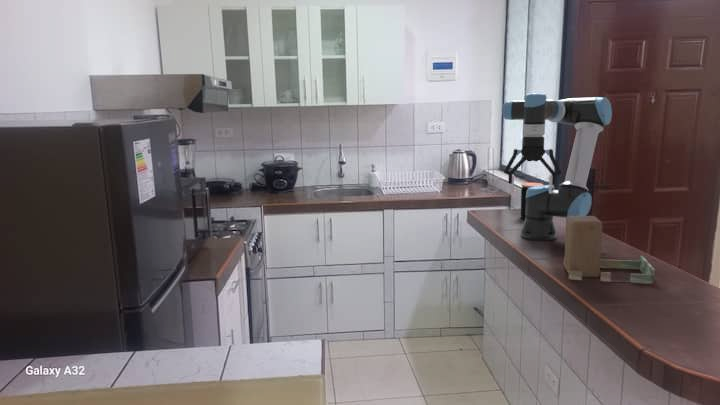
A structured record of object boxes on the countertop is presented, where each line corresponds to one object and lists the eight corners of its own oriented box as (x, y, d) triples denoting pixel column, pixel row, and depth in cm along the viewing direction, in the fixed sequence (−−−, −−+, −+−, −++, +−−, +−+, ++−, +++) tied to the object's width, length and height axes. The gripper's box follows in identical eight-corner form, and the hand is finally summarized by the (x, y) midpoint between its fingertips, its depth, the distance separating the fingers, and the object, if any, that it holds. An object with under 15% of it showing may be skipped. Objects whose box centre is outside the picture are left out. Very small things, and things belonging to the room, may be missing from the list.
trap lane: (563, 265, 182) (564, 252, 181) (641, 268, 175) (642, 255, 174) (568, 279, 168) (569, 265, 167) (653, 283, 160) (654, 269, 160)
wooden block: (600, 278, 167) (603, 222, 163) (569, 277, 170) (571, 221, 166) (592, 268, 177) (595, 215, 173) (563, 267, 179) (565, 215, 175)
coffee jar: (545, 220, 248) (546, 185, 245) (524, 221, 249) (525, 186, 245) (538, 215, 259) (539, 182, 255) (517, 216, 259) (518, 183, 255)
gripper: (499, 136, 180) (497, 193, 184) (571, 136, 174) (567, 194, 178) (498, 135, 187) (496, 190, 191) (568, 135, 181) (564, 191, 185)
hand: (531, 192), depth 184 cm, fingers open, 13 cm apart
